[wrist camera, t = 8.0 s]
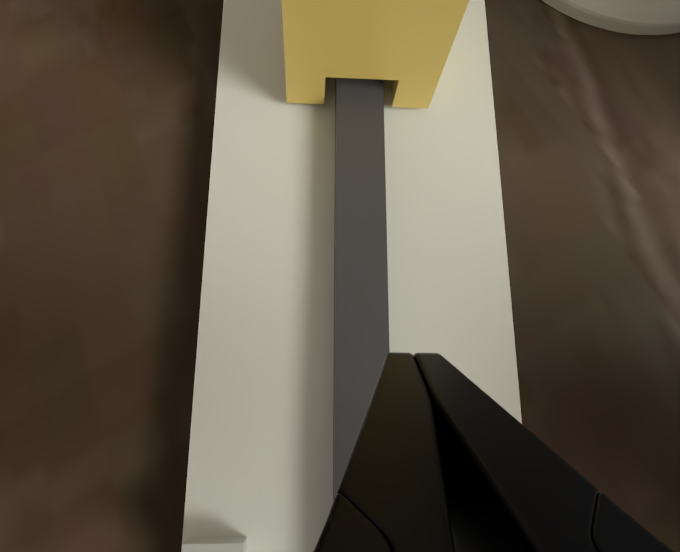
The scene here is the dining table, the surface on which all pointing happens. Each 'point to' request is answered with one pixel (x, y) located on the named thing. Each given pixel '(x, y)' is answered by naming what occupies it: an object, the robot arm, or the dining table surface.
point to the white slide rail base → (334, 274)
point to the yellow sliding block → (368, 45)
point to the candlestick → (624, 14)
